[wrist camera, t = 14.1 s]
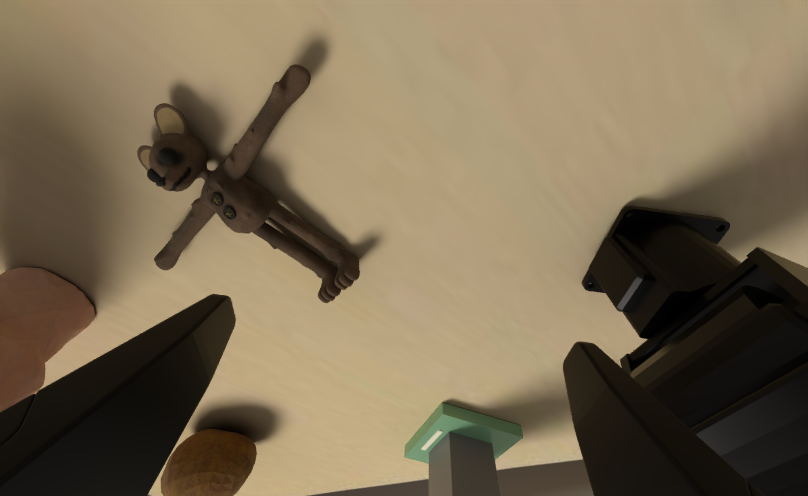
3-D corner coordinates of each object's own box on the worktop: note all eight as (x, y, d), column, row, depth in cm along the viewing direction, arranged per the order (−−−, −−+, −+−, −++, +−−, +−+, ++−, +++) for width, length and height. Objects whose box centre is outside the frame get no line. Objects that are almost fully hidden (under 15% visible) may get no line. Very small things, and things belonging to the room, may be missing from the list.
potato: (171, 433, 40) (122, 510, 34) (222, 398, 35) (176, 481, 29) (228, 459, 43) (193, 534, 37) (283, 431, 38) (254, 512, 32)
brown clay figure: (271, 353, 26) (58, 253, 20) (286, 312, 29) (108, 215, 23) (443, 216, 18) (182, -22, 12) (437, 182, 22) (230, -18, 15)
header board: (442, 402, 33) (443, 428, 31) (520, 425, 34) (526, 452, 32) (405, 446, 38) (403, 471, 36) (473, 464, 40) (476, 489, 37)
